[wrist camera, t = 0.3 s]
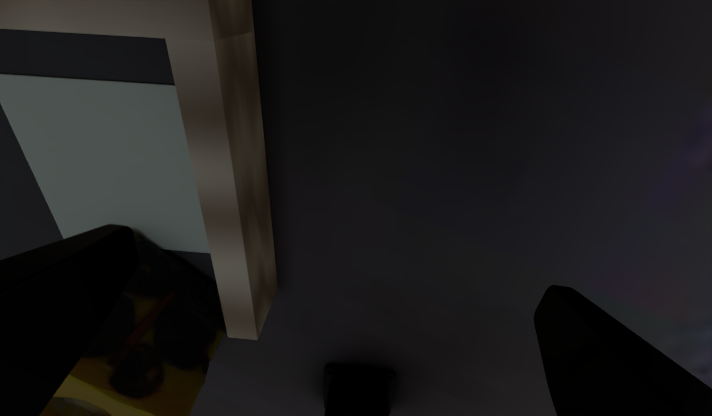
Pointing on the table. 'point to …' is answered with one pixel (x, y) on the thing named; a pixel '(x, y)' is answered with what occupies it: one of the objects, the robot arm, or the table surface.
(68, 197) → the mat
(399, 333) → the table surface
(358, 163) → the table surface
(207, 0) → the arena
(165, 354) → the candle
